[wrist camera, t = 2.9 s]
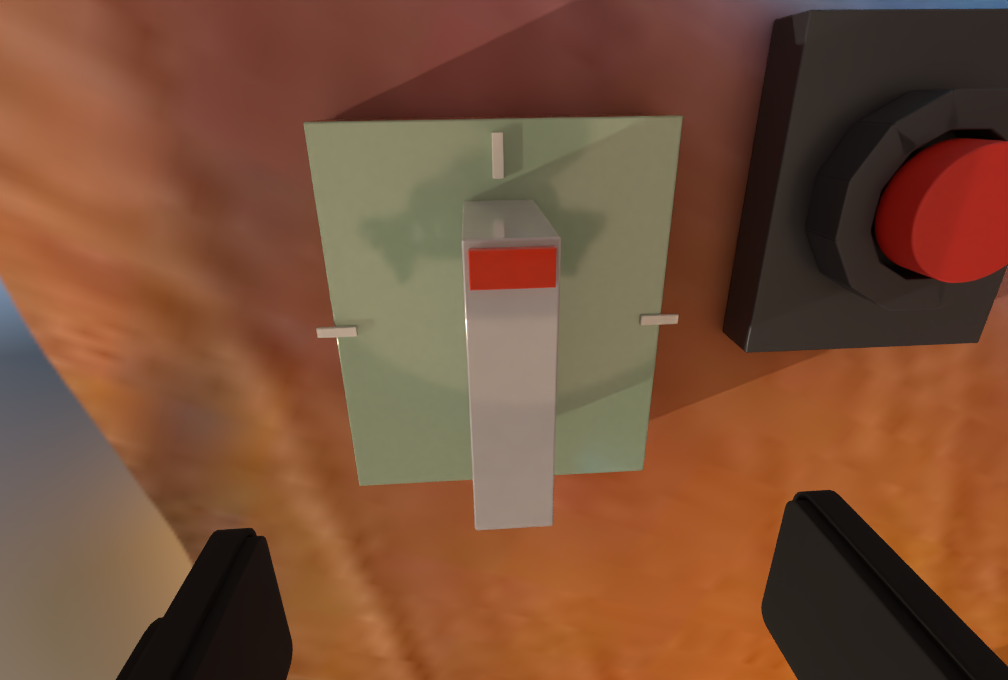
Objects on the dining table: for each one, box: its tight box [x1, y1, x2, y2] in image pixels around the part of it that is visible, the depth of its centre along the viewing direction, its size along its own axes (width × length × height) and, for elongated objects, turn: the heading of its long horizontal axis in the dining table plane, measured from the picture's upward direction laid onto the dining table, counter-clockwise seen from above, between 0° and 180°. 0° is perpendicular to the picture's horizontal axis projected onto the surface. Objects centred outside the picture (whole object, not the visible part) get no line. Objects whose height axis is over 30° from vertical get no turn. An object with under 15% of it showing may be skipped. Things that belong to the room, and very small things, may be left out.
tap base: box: [303, 114, 683, 486], centre depth 21 cm, size 14×13×3 cm
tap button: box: [875, 138, 1008, 283], centre depth 17 cm, size 4×4×2 cm
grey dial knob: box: [462, 199, 561, 530], centre depth 17 cm, size 9×2×6 cm, turn 1°
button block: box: [723, 9, 1008, 353], centre depth 20 cm, size 12×10×4 cm
